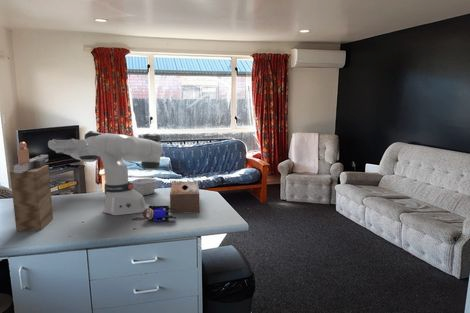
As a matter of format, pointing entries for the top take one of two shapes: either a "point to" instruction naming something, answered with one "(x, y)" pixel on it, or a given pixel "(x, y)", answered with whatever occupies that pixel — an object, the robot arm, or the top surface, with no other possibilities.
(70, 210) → the top surface
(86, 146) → the robot arm
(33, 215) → the stand
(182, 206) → the tissue box cover
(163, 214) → the character figurine
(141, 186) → the paper bowls
